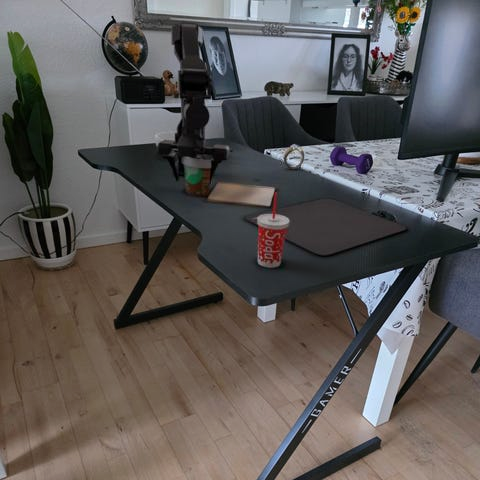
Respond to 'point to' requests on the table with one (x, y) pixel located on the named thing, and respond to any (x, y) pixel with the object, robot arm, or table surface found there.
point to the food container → (197, 175)
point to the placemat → (242, 194)
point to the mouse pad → (331, 226)
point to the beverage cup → (271, 237)
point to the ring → (290, 152)
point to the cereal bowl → (164, 136)
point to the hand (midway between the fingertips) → (193, 182)
